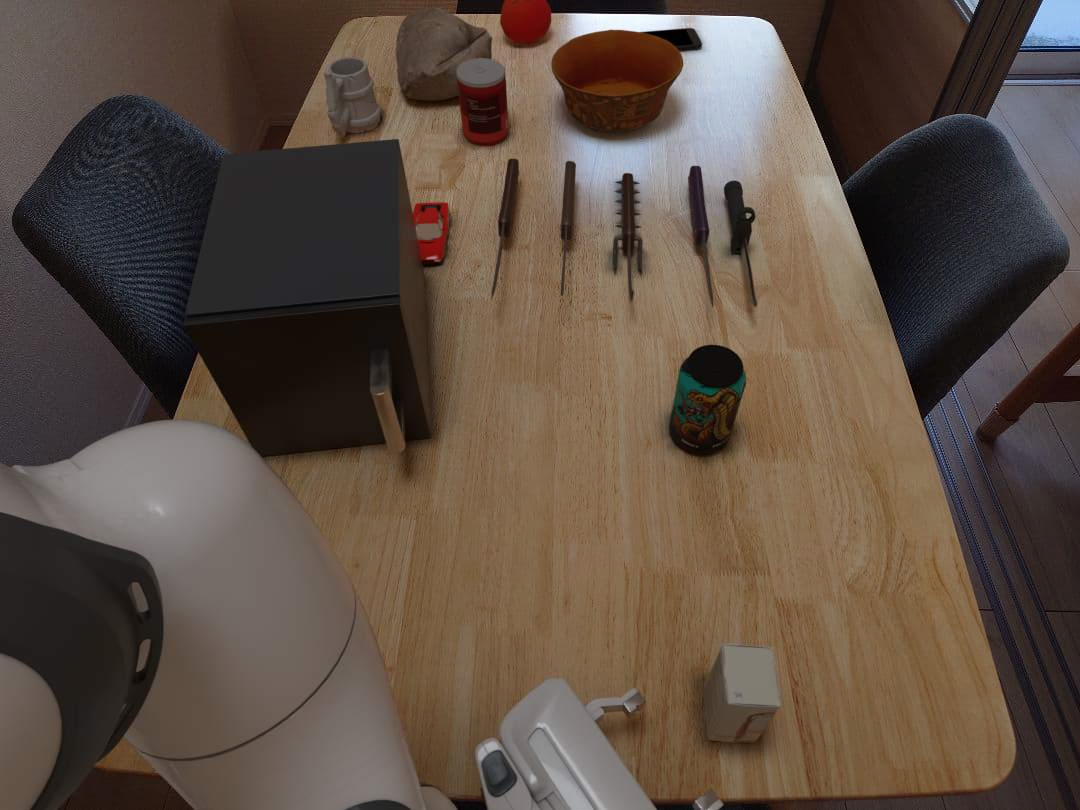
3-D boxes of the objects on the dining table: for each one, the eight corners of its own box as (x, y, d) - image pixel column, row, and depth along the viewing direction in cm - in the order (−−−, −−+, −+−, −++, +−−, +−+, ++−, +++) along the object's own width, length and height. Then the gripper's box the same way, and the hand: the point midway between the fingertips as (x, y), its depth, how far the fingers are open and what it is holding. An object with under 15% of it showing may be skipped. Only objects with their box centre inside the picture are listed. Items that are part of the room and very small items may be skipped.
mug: (389, 112, 131) (376, 44, 122) (360, 151, 124) (343, 81, 115) (349, 106, 133) (333, 38, 123) (318, 144, 126) (298, 75, 116)
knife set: (486, 328, 97) (483, 281, 91) (509, 183, 119) (508, 138, 113) (761, 341, 96) (776, 295, 90) (734, 192, 117) (744, 147, 111)
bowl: (526, 122, 129) (524, 65, 121) (602, 70, 138) (604, 15, 130) (626, 167, 120) (630, 109, 112) (699, 109, 130) (708, 52, 122)
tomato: (560, 33, 147) (560, -12, 141) (531, 56, 142) (529, 10, 135) (520, 22, 150) (518, -23, 144) (490, 44, 145) (487, -2, 139)
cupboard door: (432, 480, 85) (400, 350, 67) (251, 501, 83) (171, 373, 66) (430, 431, 89) (399, 296, 72) (258, 449, 88) (184, 317, 71)
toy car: (446, 266, 106) (443, 249, 104) (409, 268, 107) (405, 250, 104) (450, 213, 114) (448, 195, 111) (416, 214, 114) (413, 196, 111)
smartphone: (617, 36, 146) (617, 32, 145) (693, 30, 147) (694, 26, 146) (624, 56, 141) (624, 51, 140) (703, 49, 142) (703, 45, 141)
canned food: (489, 115, 130) (484, 52, 121) (518, 135, 126) (515, 71, 118) (453, 132, 127) (445, 68, 118) (482, 152, 123) (476, 89, 115)
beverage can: (693, 467, 85) (709, 401, 76) (656, 424, 89) (667, 356, 79) (742, 440, 87) (764, 372, 78) (704, 399, 91) (720, 330, 81)
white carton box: (756, 744, 67) (782, 711, 59) (706, 741, 67) (725, 707, 59) (750, 685, 70) (774, 645, 62) (702, 682, 70) (720, 642, 62)
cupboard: (430, 430, 89) (399, 293, 72) (258, 448, 88) (184, 314, 71) (425, 280, 105) (398, 138, 88) (279, 294, 104) (223, 153, 86)
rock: (514, 27, 132) (445, -27, 122) (492, 114, 130) (420, 67, 120) (462, 53, 144) (396, 7, 134) (441, 134, 142) (372, 93, 132)
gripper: (625, 1000, 49) (778, 860, 54) (464, 729, 60) (603, 632, 65) (619, 999, 54) (760, 871, 59) (472, 749, 65) (600, 657, 70)
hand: (677, 744), depth 62 cm, fingers open, 8 cm apart
